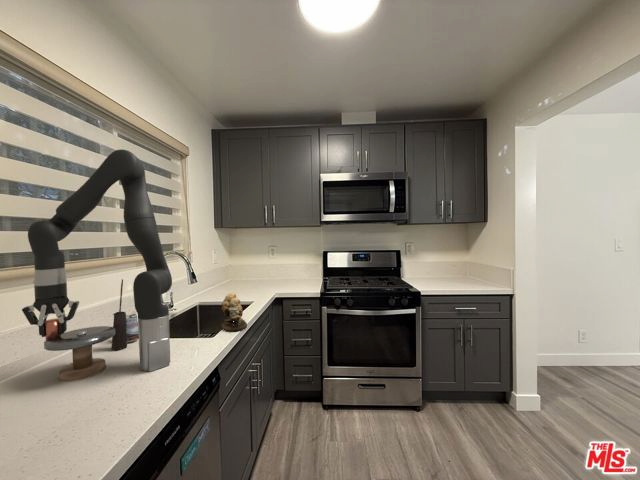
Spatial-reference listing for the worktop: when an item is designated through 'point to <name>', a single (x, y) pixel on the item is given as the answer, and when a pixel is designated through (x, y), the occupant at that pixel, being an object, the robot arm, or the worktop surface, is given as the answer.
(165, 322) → the robot arm
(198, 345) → the worktop surface
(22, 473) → the worktop surface
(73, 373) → the wheel stand
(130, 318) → the beverage can
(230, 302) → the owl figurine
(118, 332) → the butter churn
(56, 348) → the grey disc with knob
